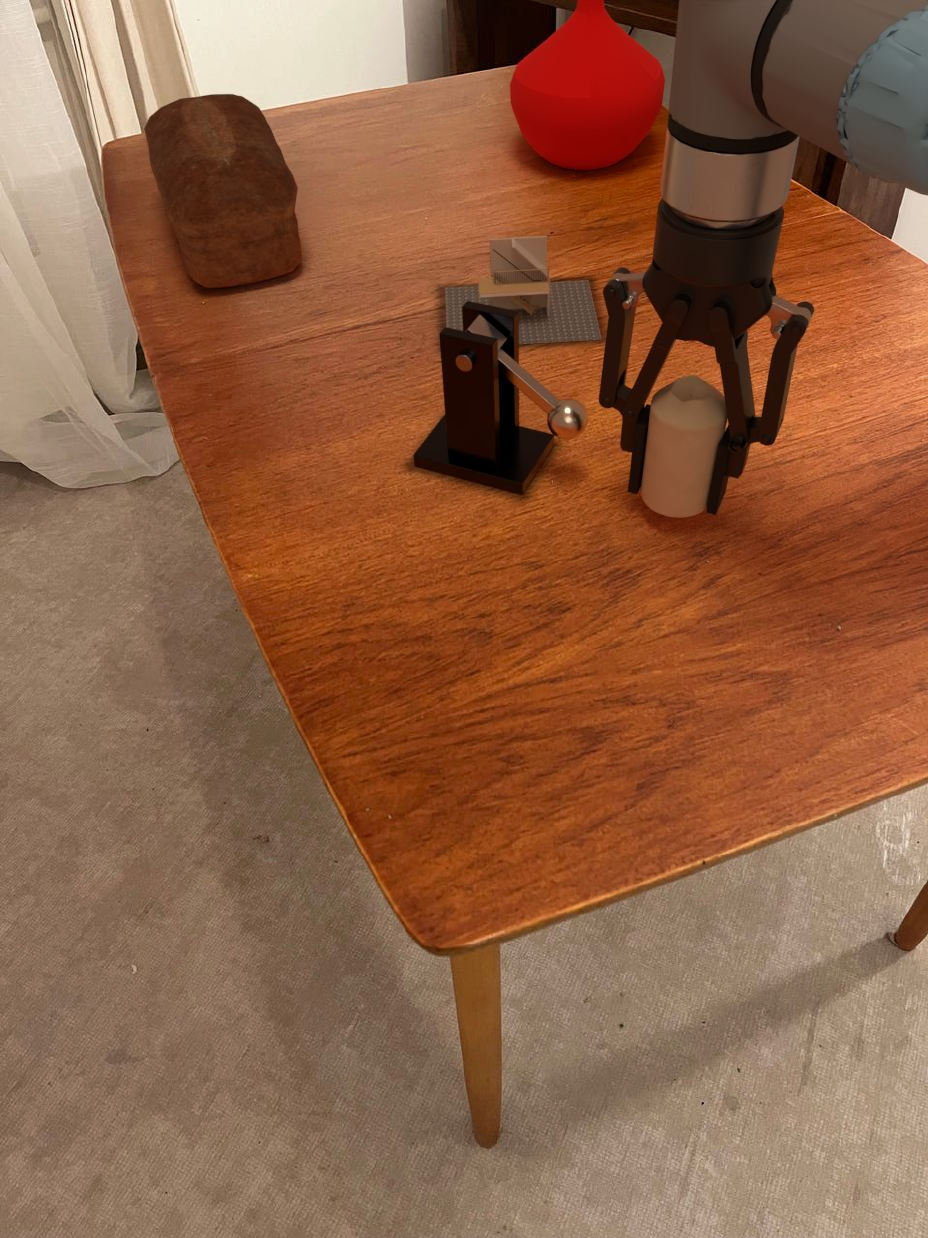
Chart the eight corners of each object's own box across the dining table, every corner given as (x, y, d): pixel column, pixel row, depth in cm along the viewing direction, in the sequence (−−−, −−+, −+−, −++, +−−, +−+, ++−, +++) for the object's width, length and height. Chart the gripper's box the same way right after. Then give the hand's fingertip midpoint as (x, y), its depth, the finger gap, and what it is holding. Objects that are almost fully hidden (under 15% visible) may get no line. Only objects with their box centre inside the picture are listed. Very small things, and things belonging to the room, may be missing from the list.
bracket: (554, 445, 84) (557, 311, 75) (522, 495, 80) (522, 360, 71) (449, 419, 87) (440, 287, 78) (414, 465, 83) (399, 332, 74)
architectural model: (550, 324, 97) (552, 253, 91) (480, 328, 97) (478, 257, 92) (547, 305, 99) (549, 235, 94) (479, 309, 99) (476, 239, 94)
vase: (485, 144, 126) (480, -29, 112) (606, 112, 131) (616, -57, 116) (558, 200, 115) (562, 16, 100) (688, 162, 120) (710, -18, 105)
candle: (721, 513, 75) (744, 405, 67) (651, 523, 74) (666, 415, 67) (698, 467, 79) (717, 360, 71) (631, 477, 78) (643, 370, 71)
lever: (578, 431, 80) (601, 410, 77) (563, 454, 78) (587, 433, 75) (465, 332, 78) (485, 307, 75) (447, 353, 76) (467, 328, 73)
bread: (270, 174, 123) (249, 68, 114) (319, 280, 105) (300, 164, 96) (159, 194, 120) (129, 88, 111) (190, 307, 102) (157, 191, 93)
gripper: (892, 197, 58) (807, 493, 76) (597, 152, 64) (581, 436, 81) (869, 256, 54) (784, 556, 71) (555, 203, 60) (547, 492, 77)
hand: (676, 492), depth 76 cm, fingers closed on candle, 5 cm apart
